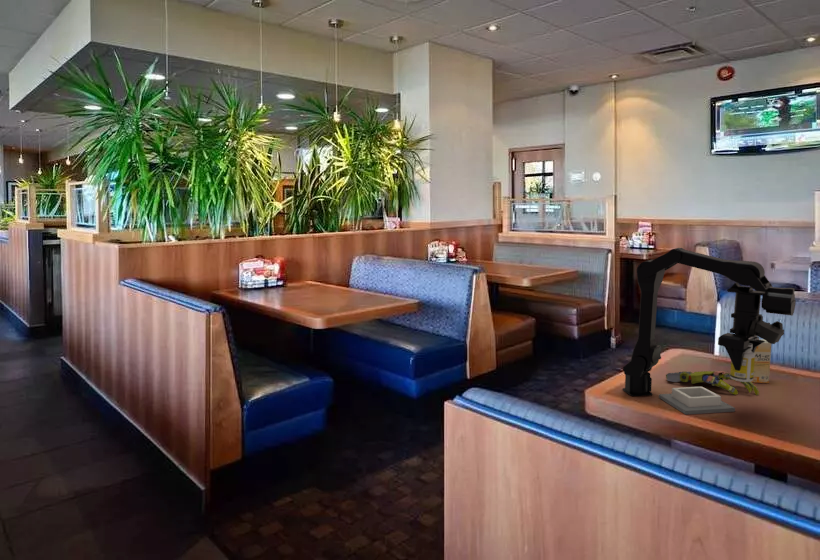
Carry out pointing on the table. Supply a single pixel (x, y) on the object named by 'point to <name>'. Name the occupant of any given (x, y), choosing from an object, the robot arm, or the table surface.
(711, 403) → the socket holder
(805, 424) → the table surface
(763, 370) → the supplement box
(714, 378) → the robotic hand
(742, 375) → the supplement bottle
